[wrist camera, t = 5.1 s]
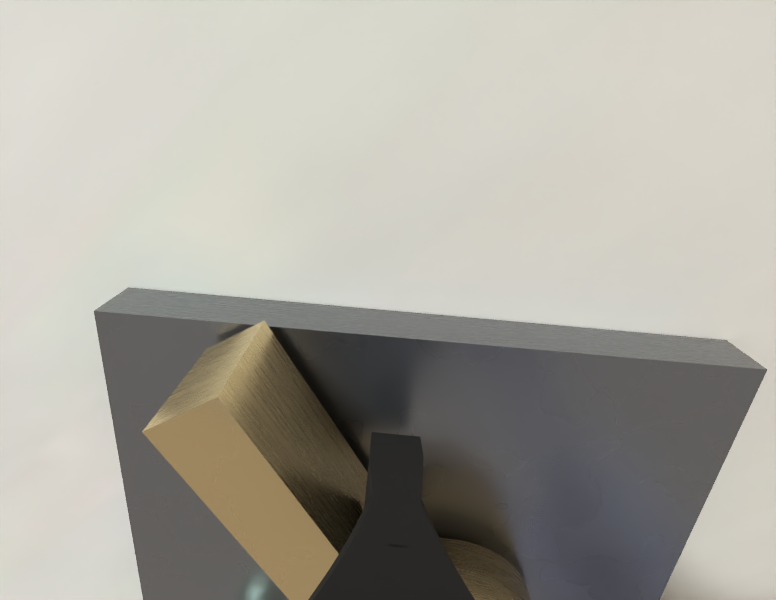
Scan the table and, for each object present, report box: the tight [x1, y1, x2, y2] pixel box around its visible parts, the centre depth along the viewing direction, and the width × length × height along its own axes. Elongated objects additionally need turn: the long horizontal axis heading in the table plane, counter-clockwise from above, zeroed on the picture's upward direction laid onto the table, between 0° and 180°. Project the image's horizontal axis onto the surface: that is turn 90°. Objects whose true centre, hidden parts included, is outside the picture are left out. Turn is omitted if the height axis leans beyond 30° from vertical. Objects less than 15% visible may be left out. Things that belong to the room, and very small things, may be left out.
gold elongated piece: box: [142, 321, 531, 600], centre depth 12 cm, size 14×6×3 cm, turn 28°
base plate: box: [94, 288, 767, 600], centre depth 14 cm, size 16×16×3 cm
